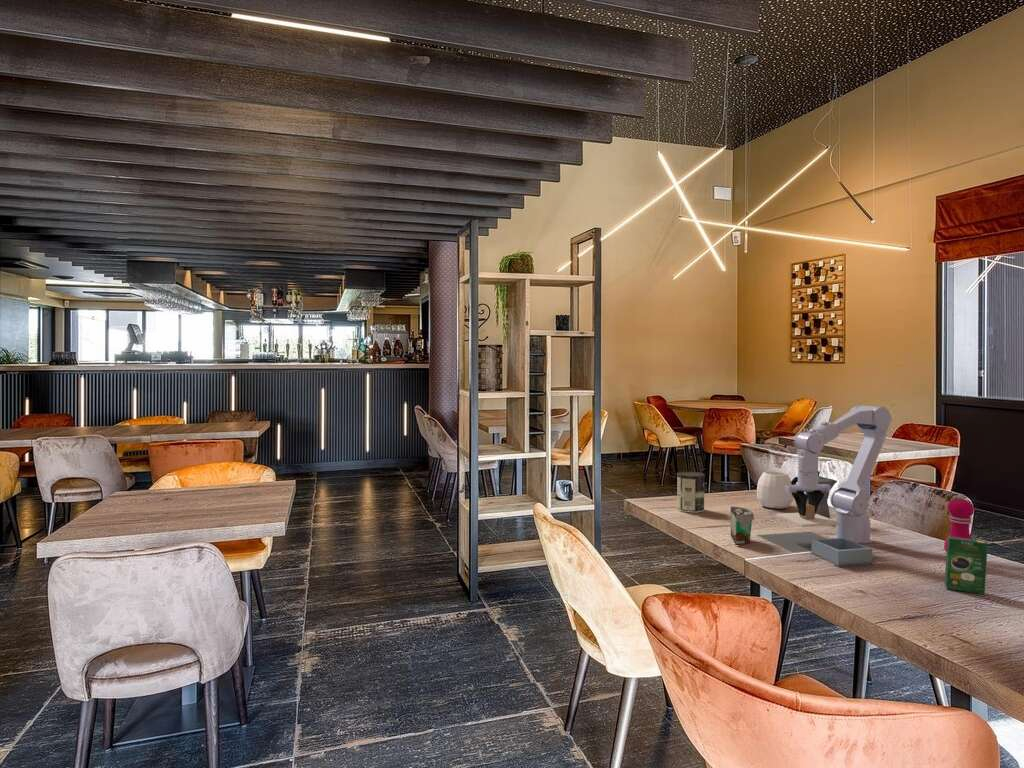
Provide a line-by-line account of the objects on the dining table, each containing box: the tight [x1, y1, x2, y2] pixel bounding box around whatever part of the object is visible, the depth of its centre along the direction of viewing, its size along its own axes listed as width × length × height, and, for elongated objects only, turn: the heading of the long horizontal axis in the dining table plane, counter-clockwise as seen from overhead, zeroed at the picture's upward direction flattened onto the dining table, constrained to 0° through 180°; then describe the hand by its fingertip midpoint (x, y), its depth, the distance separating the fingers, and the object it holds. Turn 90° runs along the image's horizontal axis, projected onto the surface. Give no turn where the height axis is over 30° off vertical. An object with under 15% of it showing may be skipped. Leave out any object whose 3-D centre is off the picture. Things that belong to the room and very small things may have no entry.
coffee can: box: [676, 471, 706, 514], centre depth 235 cm, size 10×10×14 cm
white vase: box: [756, 470, 794, 510], centre depth 240 cm, size 13×13×14 cm
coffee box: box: [944, 535, 988, 595], centre depth 152 cm, size 8×3×13 cm, turn 62°
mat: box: [756, 531, 828, 553], centre depth 193 cm, size 20×18×1 cm
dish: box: [810, 538, 874, 568], centre depth 176 cm, size 11×11×4 cm
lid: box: [775, 504, 840, 528], centre depth 191 cm, size 13×13×5 cm
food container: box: [730, 506, 755, 546], centre depth 193 cm, size 12×6×10 cm, turn 168°
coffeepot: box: [791, 470, 838, 519], centre depth 220 cm, size 15×9×18 cm, turn 79°
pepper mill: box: [943, 493, 975, 553], centre depth 172 cm, size 7×7×20 cm
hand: (807, 514), depth 191 cm, fingers closed on lid, 3 cm apart
